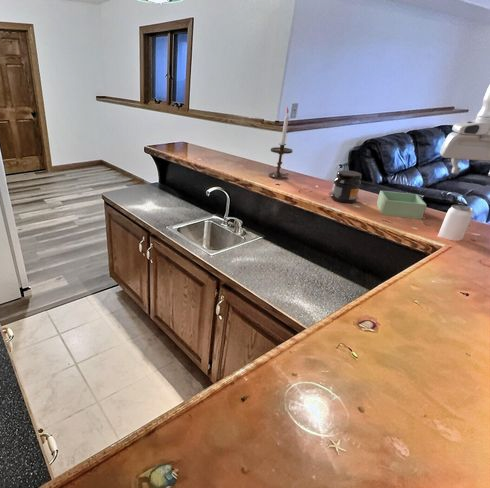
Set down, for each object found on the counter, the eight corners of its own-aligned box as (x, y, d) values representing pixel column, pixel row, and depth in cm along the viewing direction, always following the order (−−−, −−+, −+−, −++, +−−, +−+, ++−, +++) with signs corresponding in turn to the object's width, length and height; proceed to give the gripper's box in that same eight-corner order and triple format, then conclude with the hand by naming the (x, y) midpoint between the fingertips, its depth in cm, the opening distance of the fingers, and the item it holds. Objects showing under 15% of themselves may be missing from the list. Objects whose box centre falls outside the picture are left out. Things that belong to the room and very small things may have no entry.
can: (441, 244, 116) (455, 210, 110) (433, 236, 121) (446, 203, 116) (464, 246, 114) (479, 212, 109) (454, 238, 120) (468, 205, 114)
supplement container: (361, 201, 152) (368, 174, 147) (344, 205, 148) (351, 177, 143) (341, 194, 161) (347, 169, 155) (324, 197, 157) (330, 171, 151)
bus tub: (412, 207, 146) (417, 194, 144) (421, 219, 135) (426, 204, 132) (376, 203, 150) (380, 190, 148) (381, 214, 139) (386, 200, 136)
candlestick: (263, 174, 191) (272, 106, 175) (280, 173, 193) (291, 105, 178) (273, 180, 181) (284, 108, 166) (291, 178, 184) (304, 107, 168)
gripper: (531, 128, 100) (509, 175, 107) (447, 124, 107) (431, 169, 113) (543, 131, 95) (520, 180, 101) (454, 127, 101) (437, 173, 108)
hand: (473, 174), depth 107 cm, fingers open, 8 cm apart
